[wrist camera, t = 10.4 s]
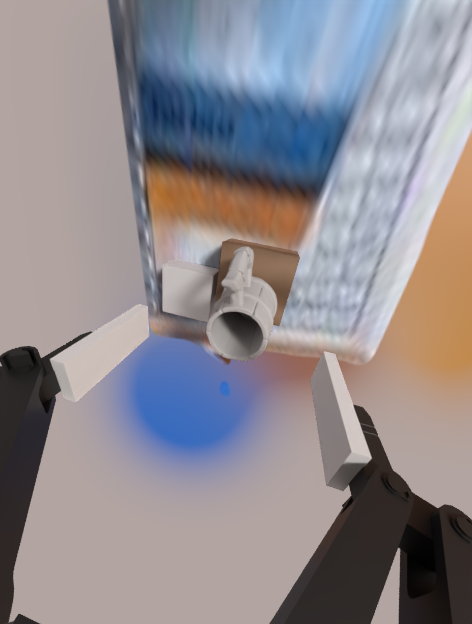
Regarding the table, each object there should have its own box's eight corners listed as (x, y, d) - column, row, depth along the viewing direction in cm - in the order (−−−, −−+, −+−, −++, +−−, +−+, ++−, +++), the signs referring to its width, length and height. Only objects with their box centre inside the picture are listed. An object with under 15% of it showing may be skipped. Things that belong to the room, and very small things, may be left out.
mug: (225, 322, 31) (195, 376, 21) (221, 241, 26) (178, 257, 16) (275, 325, 30) (272, 386, 19) (281, 240, 25) (280, 258, 14)
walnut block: (231, 238, 31) (222, 242, 26) (297, 251, 30) (299, 257, 25) (222, 298, 35) (213, 310, 31) (279, 312, 34) (279, 326, 30)
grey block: (175, 259, 34) (162, 264, 30) (220, 269, 33) (213, 275, 30) (173, 302, 38) (162, 311, 34) (215, 312, 37) (207, 322, 33)
